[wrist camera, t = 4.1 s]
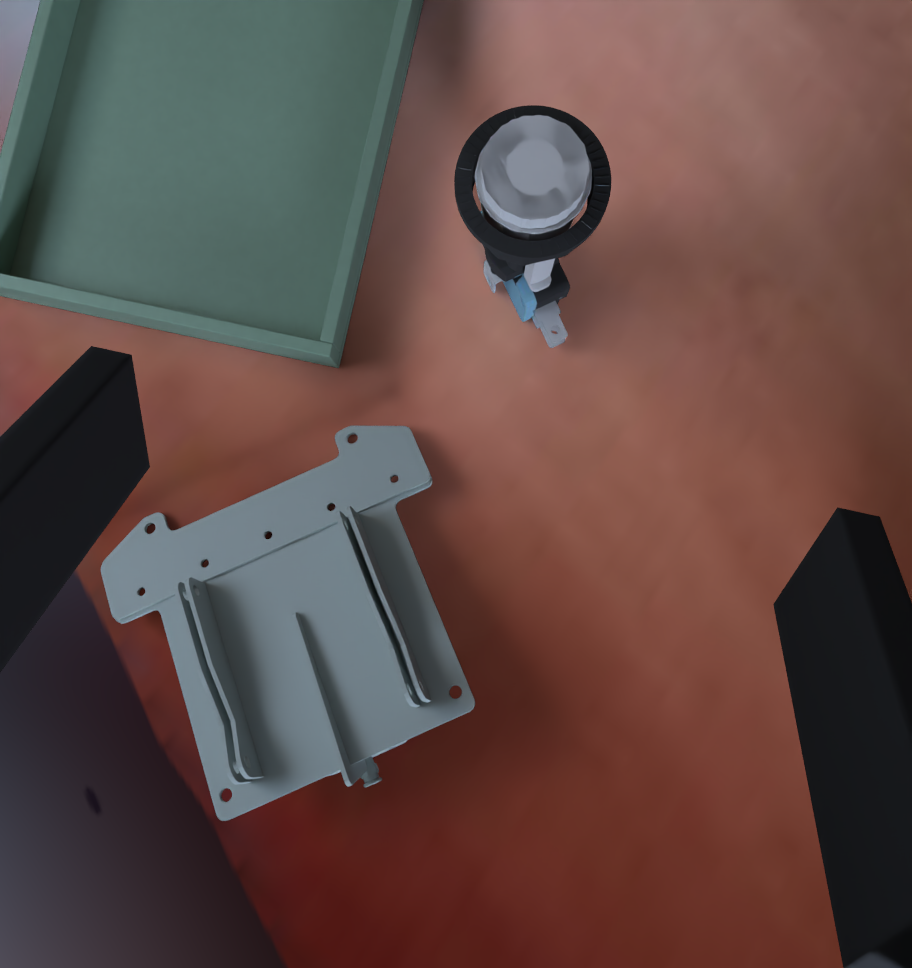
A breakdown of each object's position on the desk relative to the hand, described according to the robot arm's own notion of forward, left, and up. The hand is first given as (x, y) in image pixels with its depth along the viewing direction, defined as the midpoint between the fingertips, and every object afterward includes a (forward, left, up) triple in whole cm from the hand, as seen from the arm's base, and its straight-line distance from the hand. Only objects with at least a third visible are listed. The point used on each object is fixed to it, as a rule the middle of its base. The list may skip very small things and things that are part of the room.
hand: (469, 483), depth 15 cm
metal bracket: (-6, +6, -20) cm, 22 cm away
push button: (+11, 0, -20) cm, 23 cm away
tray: (+15, +15, -20) cm, 29 cm away
